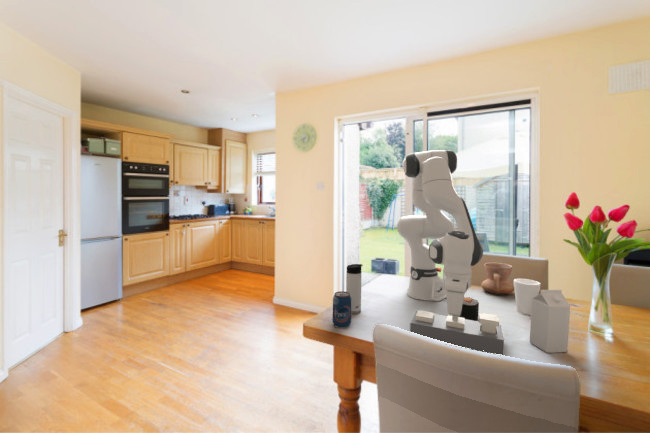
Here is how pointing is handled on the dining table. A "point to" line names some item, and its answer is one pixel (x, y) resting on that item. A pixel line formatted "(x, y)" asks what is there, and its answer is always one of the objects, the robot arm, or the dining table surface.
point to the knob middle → (455, 322)
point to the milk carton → (550, 321)
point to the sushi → (470, 309)
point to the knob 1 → (425, 316)
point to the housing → (460, 334)
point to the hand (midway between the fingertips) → (455, 319)
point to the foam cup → (525, 294)
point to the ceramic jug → (498, 278)
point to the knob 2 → (488, 322)
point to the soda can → (342, 309)
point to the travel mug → (354, 286)
